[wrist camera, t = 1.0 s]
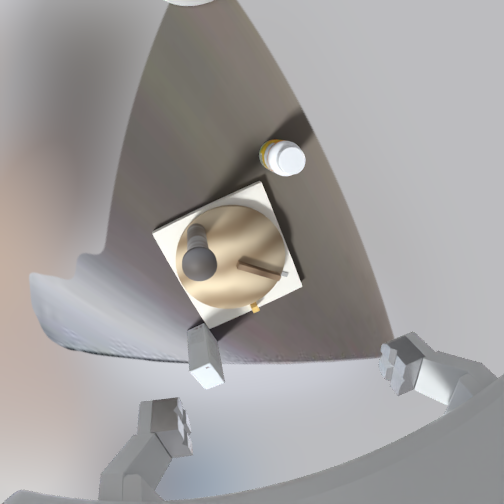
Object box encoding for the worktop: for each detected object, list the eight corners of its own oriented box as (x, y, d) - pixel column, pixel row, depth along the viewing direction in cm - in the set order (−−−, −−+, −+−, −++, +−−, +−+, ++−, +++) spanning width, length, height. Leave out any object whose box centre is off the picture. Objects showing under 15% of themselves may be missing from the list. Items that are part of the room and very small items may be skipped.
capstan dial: (155, 234, 50) (146, 272, 37) (259, 185, 50) (285, 207, 37) (205, 319, 58) (213, 370, 45) (296, 277, 58) (326, 319, 45)
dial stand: (153, 231, 51) (151, 237, 48) (259, 180, 52) (264, 184, 48) (208, 324, 60) (210, 335, 57) (299, 282, 61) (305, 291, 58)
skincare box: (186, 330, 60) (188, 371, 49) (204, 322, 60) (210, 362, 49) (200, 350, 63) (205, 390, 52) (218, 342, 63) (226, 382, 52)
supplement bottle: (295, 149, 51) (317, 154, 42) (279, 175, 52) (298, 186, 43) (268, 133, 49) (286, 134, 40) (252, 160, 50) (266, 167, 41)
